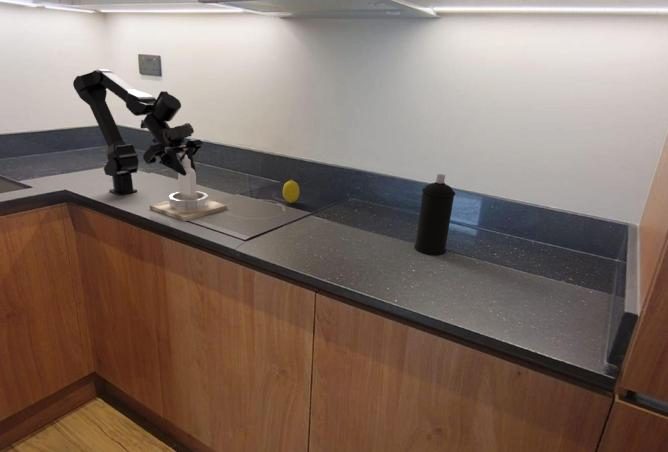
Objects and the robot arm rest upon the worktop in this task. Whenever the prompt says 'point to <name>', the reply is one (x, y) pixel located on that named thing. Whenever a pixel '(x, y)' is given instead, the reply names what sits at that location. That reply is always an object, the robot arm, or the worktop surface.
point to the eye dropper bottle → (187, 179)
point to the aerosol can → (434, 217)
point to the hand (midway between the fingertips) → (190, 173)
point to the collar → (188, 201)
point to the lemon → (291, 191)
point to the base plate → (188, 215)
